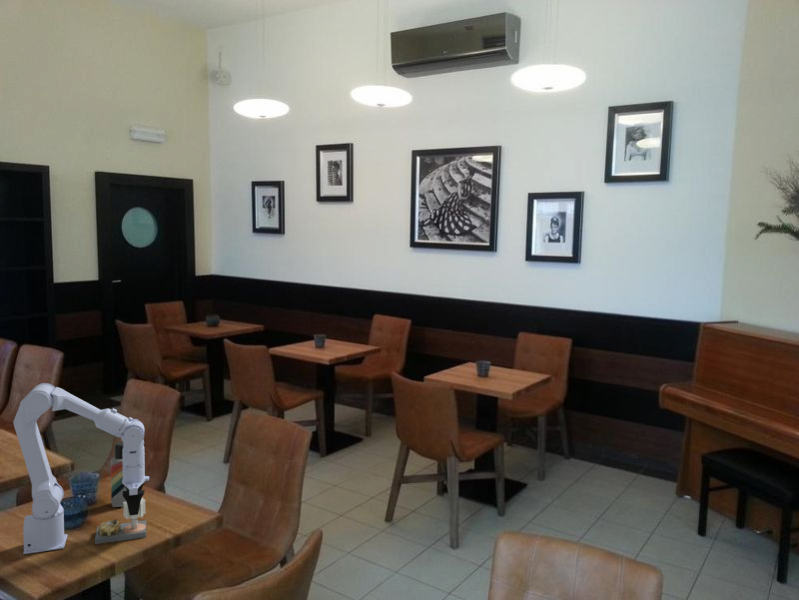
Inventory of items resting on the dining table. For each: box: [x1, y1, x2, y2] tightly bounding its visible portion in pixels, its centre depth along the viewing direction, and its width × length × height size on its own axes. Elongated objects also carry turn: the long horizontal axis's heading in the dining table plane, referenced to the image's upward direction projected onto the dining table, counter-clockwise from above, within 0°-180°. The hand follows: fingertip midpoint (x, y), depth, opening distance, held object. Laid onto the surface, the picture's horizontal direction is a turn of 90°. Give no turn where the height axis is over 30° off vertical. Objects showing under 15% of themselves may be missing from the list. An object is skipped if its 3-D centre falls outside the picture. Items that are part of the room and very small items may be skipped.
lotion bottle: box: [110, 441, 127, 508], centre depth 191 cm, size 6×6×20 cm
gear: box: [97, 518, 122, 536], centre depth 170 cm, size 6×6×3 cm
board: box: [94, 518, 147, 545], centre depth 171 cm, size 13×8×5 cm, turn 112°
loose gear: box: [122, 497, 146, 520], centre depth 172 cm, size 6×6×4 cm
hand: (134, 510), depth 172 cm, fingers closed on loose gear, 6 cm apart
